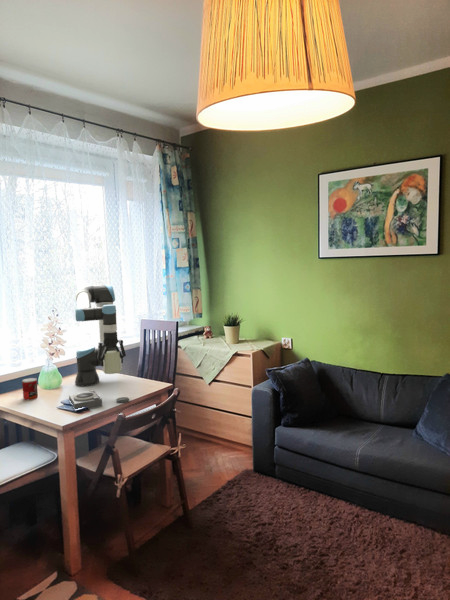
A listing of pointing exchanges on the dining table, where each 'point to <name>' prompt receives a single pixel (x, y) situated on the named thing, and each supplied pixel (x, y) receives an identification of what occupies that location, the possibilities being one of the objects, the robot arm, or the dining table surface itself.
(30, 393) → the canned food
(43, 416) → the dining table surface
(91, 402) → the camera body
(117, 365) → the can
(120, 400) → the lens cap
